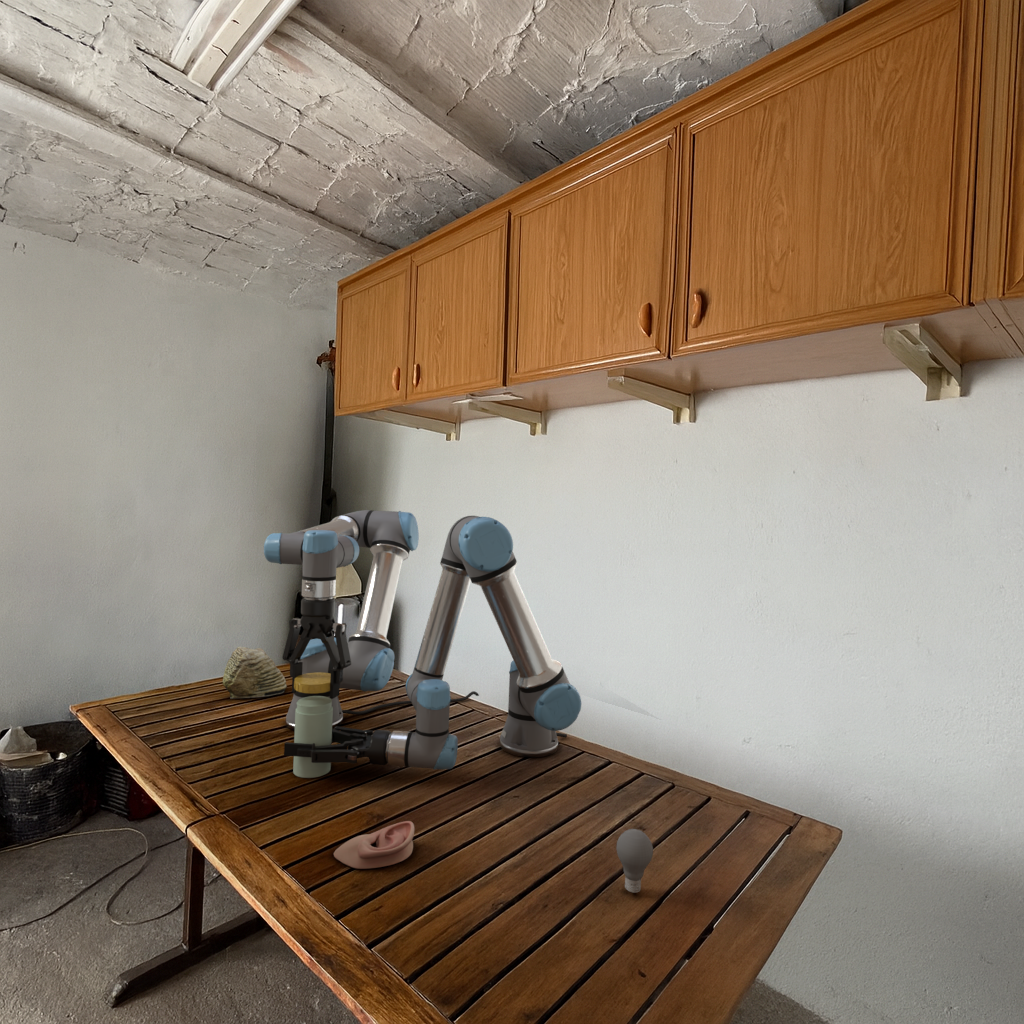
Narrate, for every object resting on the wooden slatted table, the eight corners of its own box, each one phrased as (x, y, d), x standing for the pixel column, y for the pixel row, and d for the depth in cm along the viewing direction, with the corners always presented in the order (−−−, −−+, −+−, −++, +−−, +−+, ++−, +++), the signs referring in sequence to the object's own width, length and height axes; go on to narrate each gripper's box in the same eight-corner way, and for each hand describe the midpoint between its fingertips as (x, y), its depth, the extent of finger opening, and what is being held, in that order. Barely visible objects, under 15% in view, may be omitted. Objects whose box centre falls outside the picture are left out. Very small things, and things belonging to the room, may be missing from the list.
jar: (317, 759, 152) (320, 693, 152) (337, 770, 147) (340, 701, 147) (286, 769, 146) (288, 700, 146) (305, 781, 141) (308, 709, 140)
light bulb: (610, 879, 108) (613, 822, 108) (644, 879, 109) (647, 822, 109) (619, 902, 102) (622, 840, 102) (655, 901, 103) (658, 840, 103)
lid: (291, 694, 141) (291, 685, 141) (296, 681, 150) (296, 672, 150) (335, 693, 143) (336, 684, 143) (338, 680, 152) (338, 671, 152)
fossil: (218, 695, 195) (220, 647, 195) (278, 685, 208) (279, 640, 207) (228, 703, 189) (230, 653, 188) (289, 692, 201) (290, 645, 201)
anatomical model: (325, 840, 109) (355, 809, 121) (324, 863, 109) (354, 830, 121) (398, 852, 107) (421, 819, 118) (397, 876, 107) (420, 840, 118)
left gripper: (267, 595, 145) (264, 692, 146) (352, 604, 139) (348, 705, 140) (288, 591, 152) (285, 683, 153) (369, 599, 146) (366, 695, 147)
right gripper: (376, 784, 135) (272, 777, 136) (399, 746, 156) (309, 740, 157) (377, 749, 135) (273, 742, 136) (401, 716, 156) (311, 710, 157)
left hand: (315, 693), depth 146 cm, fingers closed on lid, 9 cm apart
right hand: (293, 741), depth 147 cm, fingers closed on jar, 8 cm apart
